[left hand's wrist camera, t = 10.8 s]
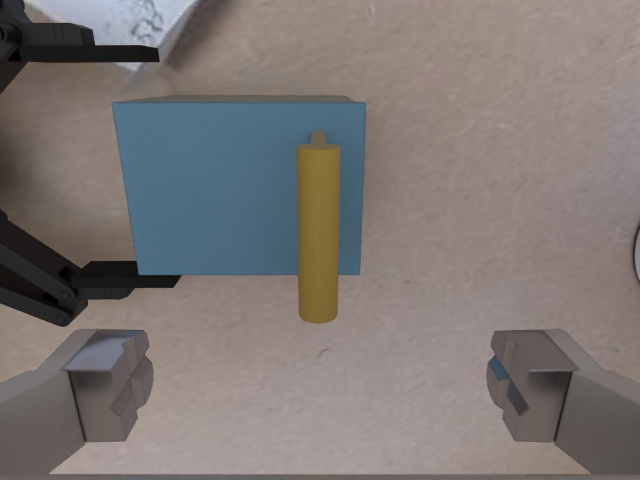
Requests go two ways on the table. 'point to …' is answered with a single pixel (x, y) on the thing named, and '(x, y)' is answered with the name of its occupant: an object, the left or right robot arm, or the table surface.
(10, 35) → the right robot arm
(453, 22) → the table surface
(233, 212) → the lid
